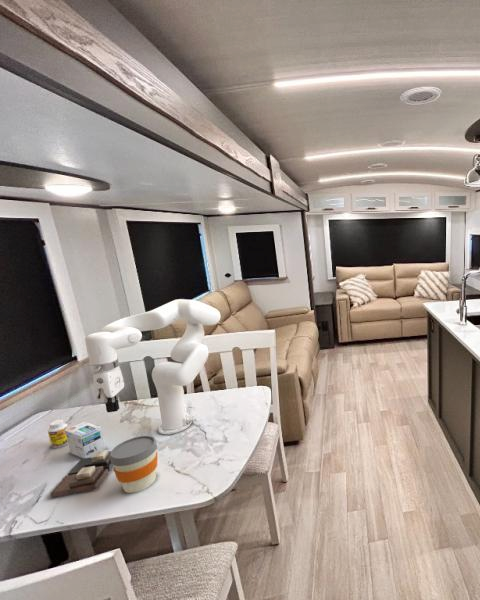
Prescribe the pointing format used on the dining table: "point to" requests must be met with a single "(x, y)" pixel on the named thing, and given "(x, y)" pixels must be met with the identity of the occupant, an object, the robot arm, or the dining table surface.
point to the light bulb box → (85, 439)
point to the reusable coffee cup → (135, 463)
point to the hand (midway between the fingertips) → (113, 410)
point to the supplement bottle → (57, 433)
